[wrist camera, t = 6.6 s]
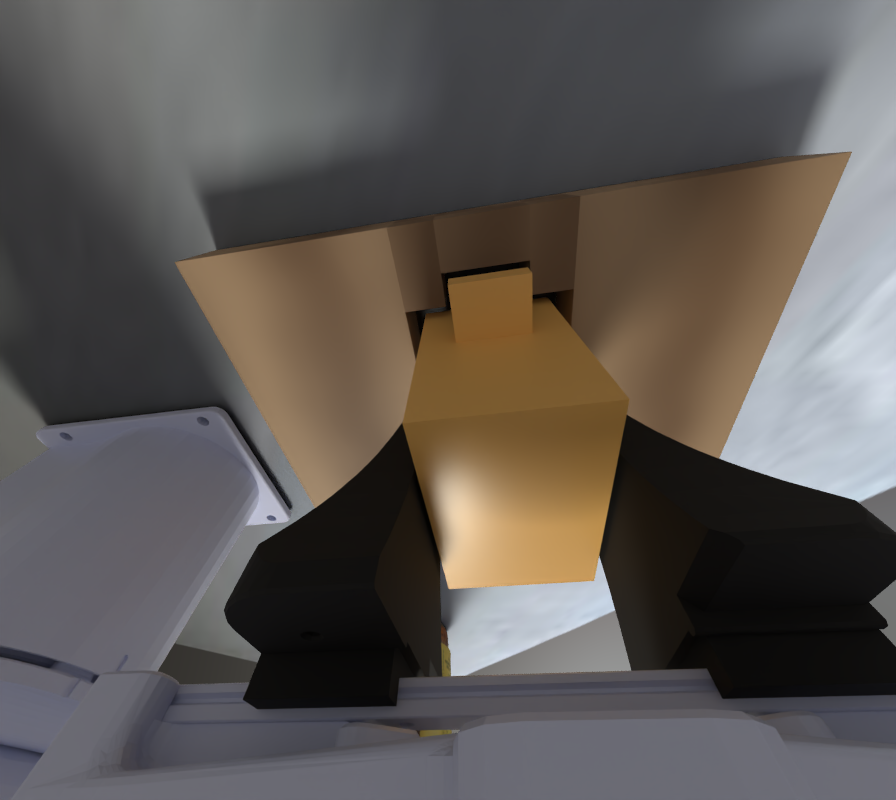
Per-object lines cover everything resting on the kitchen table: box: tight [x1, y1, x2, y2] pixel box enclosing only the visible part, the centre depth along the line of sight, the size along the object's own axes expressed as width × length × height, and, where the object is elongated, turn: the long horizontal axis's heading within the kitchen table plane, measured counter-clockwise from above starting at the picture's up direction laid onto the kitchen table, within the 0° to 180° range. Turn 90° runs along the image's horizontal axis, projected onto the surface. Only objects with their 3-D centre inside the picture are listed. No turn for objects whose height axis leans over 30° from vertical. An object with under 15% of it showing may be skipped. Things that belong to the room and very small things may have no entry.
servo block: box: [402, 267, 630, 589], centre depth 10 cm, size 4×9×6 cm, turn 8°
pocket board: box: [175, 152, 852, 508], centre depth 13 cm, size 18×12×2 cm, turn 98°
